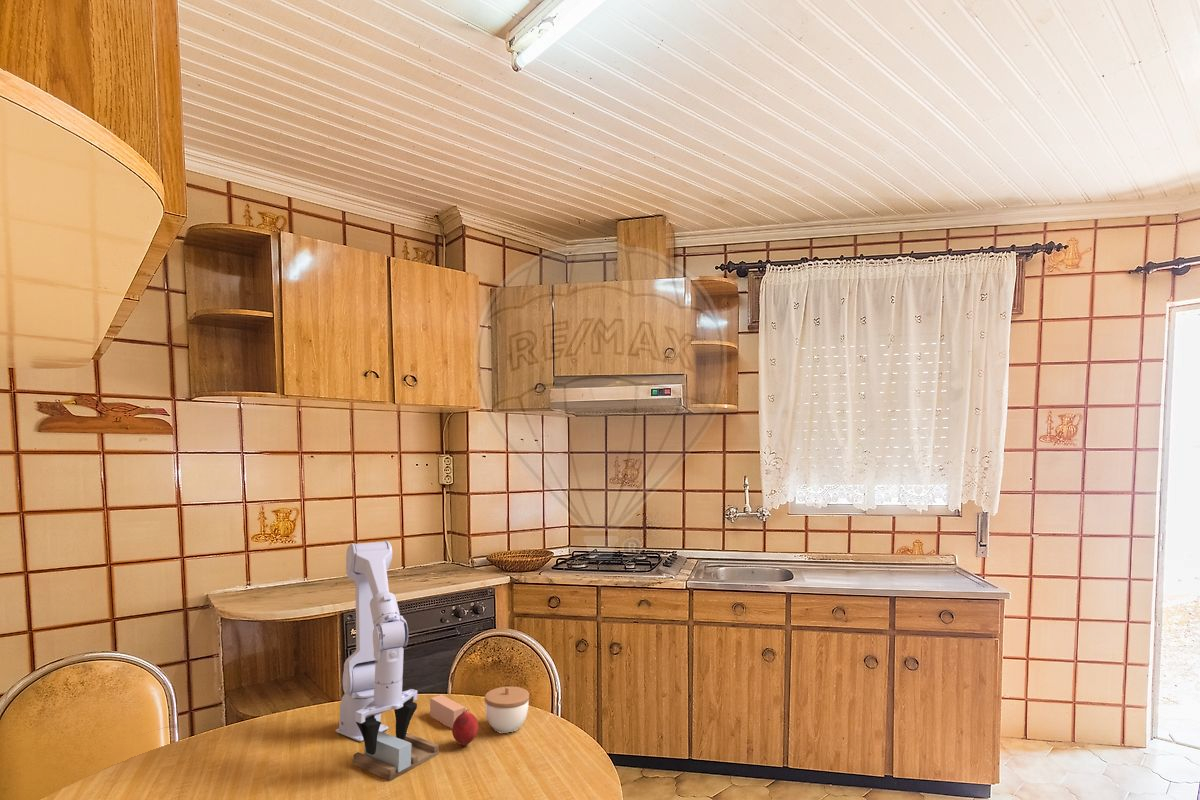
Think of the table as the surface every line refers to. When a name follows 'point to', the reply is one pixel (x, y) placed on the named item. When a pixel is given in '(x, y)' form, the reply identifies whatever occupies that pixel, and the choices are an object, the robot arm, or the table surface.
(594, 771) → the table surface
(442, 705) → the salmon pink block
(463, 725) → the onion
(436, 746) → the walnut rack
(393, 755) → the grey-blue block
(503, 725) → the lidded jar
